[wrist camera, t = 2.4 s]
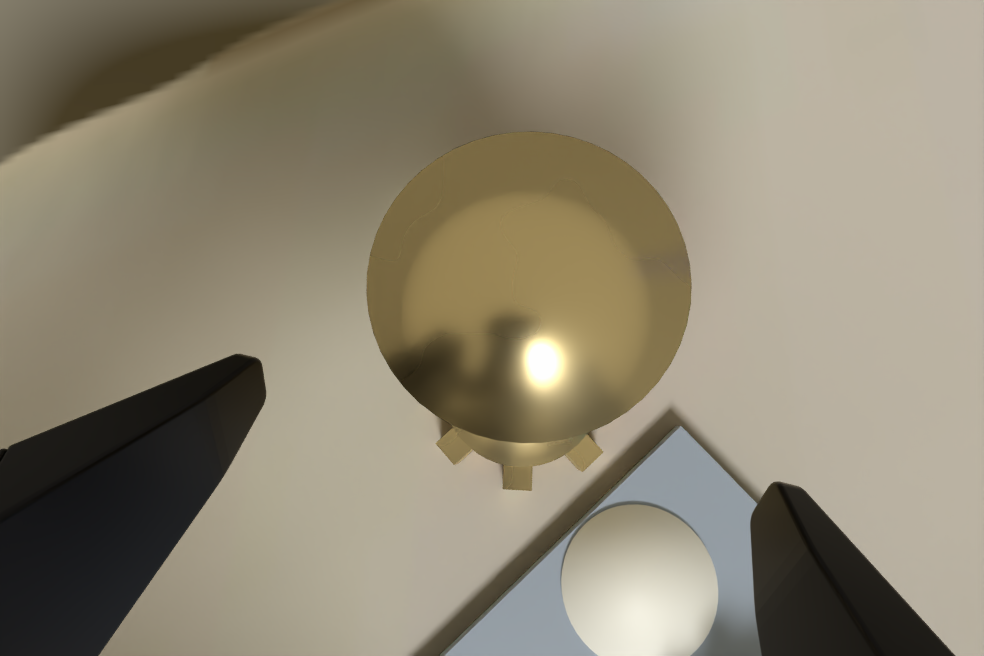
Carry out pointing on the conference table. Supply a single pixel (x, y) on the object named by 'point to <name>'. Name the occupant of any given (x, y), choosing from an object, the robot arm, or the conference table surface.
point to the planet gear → (528, 296)
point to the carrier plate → (638, 571)
